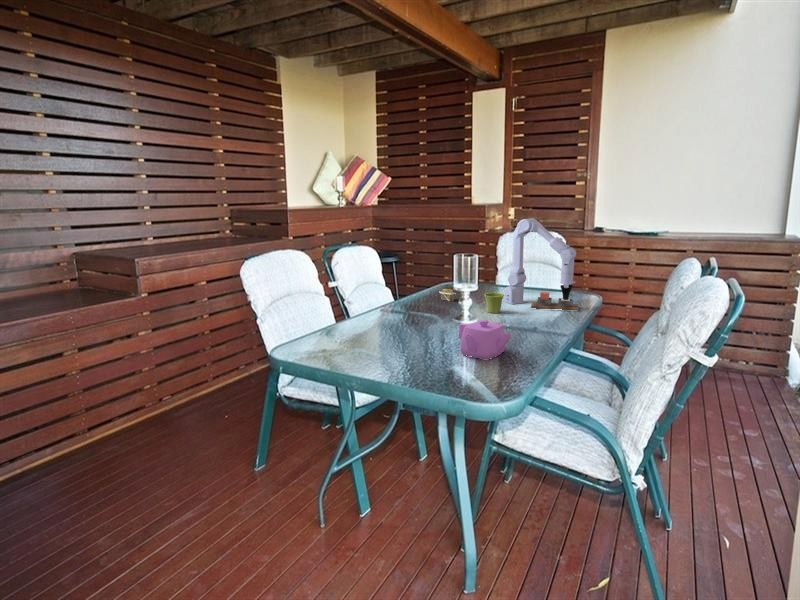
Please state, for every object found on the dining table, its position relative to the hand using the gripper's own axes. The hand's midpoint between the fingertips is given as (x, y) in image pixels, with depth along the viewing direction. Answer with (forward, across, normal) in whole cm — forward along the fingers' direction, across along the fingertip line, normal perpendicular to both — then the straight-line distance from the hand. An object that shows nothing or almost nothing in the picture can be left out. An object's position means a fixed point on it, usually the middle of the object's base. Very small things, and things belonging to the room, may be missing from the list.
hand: (565, 299), depth 249 cm
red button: (0, 0, +10) cm, 10 cm away
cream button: (+3, 0, 0) cm, 3 cm away
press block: (+4, 0, +5) cm, 7 cm away
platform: (+5, +2, +61) cm, 61 cm away
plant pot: (+5, -18, +33) cm, 37 cm away
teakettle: (+5, -83, +26) cm, 88 cm away
